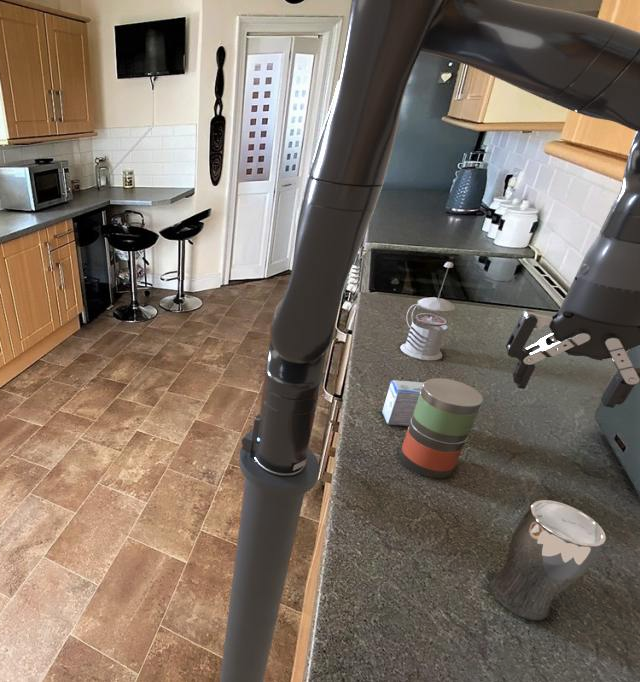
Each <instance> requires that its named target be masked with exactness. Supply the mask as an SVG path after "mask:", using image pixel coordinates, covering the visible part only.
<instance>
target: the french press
mask: <svg viewBox="0 0 640 682" xmlns="http://www.w3.org/2000/svg"><path fill="white" fill-rule="evenodd" d="M443 267H445V268H447V269H446V271H445V275H444V278H443V281H442V285H441V287H440V290H439V293H438V296H437V297H435V296H433V297H431V296H430V297H424V298H421V299H418V300H417V303H415V304H412V305H410V307H409V308H408V310H407V312H406V316H405V317H406V323H407V326H408V328H410V329H409V332H408V335H407V338H406V341H405V343H402V344H401V345H400V347H399V348H400V350H401V352H403V353H404V354H405V355H407V356H408V357H411V358H415V359H418V360H423V361H438V360H440V359H442V357H443V356H444V355H443V353H442V352H441V350H440V349H441V347H442V345H443V343H444V342H443V341H444V339H445V335H446V333H447V330H448V323H449V322H448V319H447V318H445V317H443V316H440V315H437V314H435V313H450V312H453V311H454V310H455V309H456V307H455V305H454V304H453V303H451V302H450V301H449V300H447V299H444V298H440V296H441V292H442V290H443V287H444V284H445V281H446V278H447V274H448V272H449V269H451V268H454V263H453V262H451V261H446V262H445V263H444V265H443ZM413 307H414V308H413ZM420 307H421V308H420ZM412 308H413V309H412ZM416 308H417V309H418V310H423V309H425V310H428V311H431V312H432V313H426V312H425V313H424V312H423V313H418V314H416V315H415V316H414V312H415V309H416ZM411 309H412V312H411V325H410V324H409V322H408V317H409V311H410V310H411ZM413 316H414V317H415V318H413ZM416 322H417V324H416ZM434 329H435V330H434Z"/></svg>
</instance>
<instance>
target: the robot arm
mask: <svg viewBox="0 0 640 682" xmlns="http://www.w3.org/2000/svg"><path fill="white" fill-rule="evenodd" d="M345 37H346V38H345V42H344V49H343V54H342V58H341V59H342V60H341V66H340V71H339V75H338V80H337V84H336V88H335V92H334V96H333V99H332V102H331V105H330V107H329V111H328V113H327V116H326V119H325V121H324V124H323V127H322V130H321V133H320V136H319V140H318V143H317V146H316V149H315V153H314V156H313V159H312V162H311V166H310V169H309V172H308V176H307V180H306V183H305V184H306V185H305V188H304V191H303V196H302V200H301V205H300V208H299V209H300V210H299V215H298V221H297V228H296V234H295V241H294V249H293V258H292V264H291V265H292V266H291V270H290V271H291V272H290V276H289V280H288V282H287V283H288V284H287V287H286V289H285V292H284V295H283V298H282V299H281V300H280V301H279V302H278V304H277V305H276V307H275V308H274V311H273V315H272V319H271V323H270V328H269V344H268V345H269V346H268V351H267V356H266V363H265V369H264V377H263V386H262V393H261V400H260V407H259V413H257V415H256V416H255V417H254V420H253V426H252V428H251V429H250V430H249V431H248V432H247V433H246V434H245V436H243V437H242V438H241V441H240V442H241V447H242V445H243V447H242V450H244V451H246V452H248V453H250V457H251V458H253V459H254V460H255V462H256V464H257V465H258V466H259V467H260V468H261V469H262V470H264V471H266V472H267V473H269V474H272V475H275V476H280V477H292V476H295V475H298V474H299V473H301V472H302V471H303V469H304V467H305V464H306V460H307V459H306V455H307V450H308V448H309V445H310V441H311V437H312V436H311V435H312V431H313V426H314V421H315V416H316V411H317V408H318V402H319V397H320V393H321V388H322V384H323V377H324V369H325V362H326V354H327V351H328V349H329V348H330V346H331V344H332V342H333V338H334V335H335V334H334V333H335V327H336V322H337V321H336V320H337V316H338V311H339V306H340V304H341V303H340V302H341V298H342V294H343V291H344V287H345V284H346V281H347V278H348V276H349V273H350V272H351V269H352V267H353V264H354V262H355V260H356V258H357V255H358V253H359V251H360V249H361V246H362V244H363V241H364V239H365V236H366V233H367V231H368V229H369V226H370V223H371V221H372V218H373V215H374V213H375V209H376V207H377V204H378V201H379V198H380V196H381V192H382V190H383V186H384V183H385V180H386V177H387V173H388V170H389V166H390V162H391V158H392V155H393V150H394V146H395V140H396V136H397V131H398V125H399V120H400V114H401V109H402V105H403V100H404V96H405V94H406V89H407V87H408V84H409V81H410V78H411V76H412V74H413V71H414V68H415V65H416V64H417V61H418V59H419V56H420V53H421V52H422V53H425V54H431V55H434V56H438V57H442V58H445V59H447V60H451V61H453V62H457V63H460V64H463V65H466V66H469V67H471V68H473V69H475V70H478V71H480V72H482V73H485V74H486V75H489V76H492V77H494V78H495V79H499V80H501V81H503V82H505V83H507V84H509V85H512V86H513V87H516V88H518V89H519V90H522V91H525V92H526V93H529V94H531V95H534V96H536V97H539V98H540V99H543V100H545V101H547V102H550V103H552V104H554V105H557V106H560V107H562V108H564V109H567V110H570V111H572V112H574V113H577V114H580V115H582V116H586V117H589V118H593V119H597V120H603V121H609V122H613V123H616V124H619V125H621V126H624V127H626V128H627V129H630V130H632V131H635V133H634V136H633V139H632V142H631V146H630V149H629V153H628V156H627V161H626V163H625V167H624V171H623V176H622V182H621V187H620V190H619V193H618V195H617V197H616V199H615V200H614V202H613V204H612V206H611V207H610V210H609V212H608V214H607V215H606V218H605V220H604V222H603V224H602V226H601V228H600V230H599V233H598V234H597V236H596V238H595V239H594V241H593V242H592V244H591V245H590V247H589V248H588V250H587V251H586V253H585V255H584V257H583V259H582V261H581V263H580V265H579V267H578V270H577V272H576V274H575V276H574V279H573V280H572V281H571V285H570V287H569V289H568V291H567V293H566V295H565V298H564V300H563V302H562V304H561V305H560V308H559V310H558V311H557V312H556V313H555V314H554V315H552V316H550V315H549V316H548V315H544V314H538V313H536V312H535V311H534V310H533V309H525V310H524V311H523V312H522V313H521V314H520V317H519V319H518V321H517V322H516V324H515V326H514V328H513V330H512V332H511V334H510V336H509V338H508V339H507V342H506V344H505V349H506V352H507V355H508V357H510V358H515V359H517V360H518V362H517V363H516V366H515V368H514V370H513V372H512V379H513V383H514V384H516V388H518V389H522V390H525V389H526V388H527V385H528V384H529V381H530V379H531V377H532V375H533V373H534V371H535V369H536V363H538V362H541V361H542V360H545V359H547V358H553V357H555V356H557V355H560V354H561V353H566V354H567V355H568V356H574V357H586V358H589V359H592V360H595V361H596V360H597V361H603V360H608V359H611V360H612V362H613V364H614V366H615V368H616V369H617V372H618V374H613V376H612V378H611V380H610V382H609V383H608V385H607V386H606V388H605V390H604V391H603V393H602V395H601V398H600V400H601V403H602V405H603V406H604V407H607V408H611V409H612V408H615V407H616V405H619V406H620V405H622V404H623V403H625V401H626V400H627V399H628V397H629V395H630V393H631V392H632V391H633V388H634V387H635V385H638V384H640V367H634V365H633V363H632V360H631V359H630V357H629V355H628V354H627V351H630V350H632V349H634V348H636V347H638V346H640V31H636V30H633V29H631V28H628V27H625V26H622V25H619V24H617V23H614V22H611V21H608V20H605V19H602V18H599V17H595V16H592V15H588V14H583V13H580V12H574V11H569V10H563V9H559V8H552V7H546V6H541V5H536V4H530V3H525V2H520V1H516V0H351V2H350V10H349V17H348V24H347V31H346V35H345ZM544 327H548V328H549V329H550V331H551V333H549V334H548V335H545V336H544V337H543V336H542V338H540V339H539V340H537V342H535V343H534V344H531V345H529V346H527V347H525V346H526V345H527V342H528V340H529V338H530V337H531V335H532V333H533V332H534V333H535V332H538V331H540V330H541V329H542V328H544Z"/></svg>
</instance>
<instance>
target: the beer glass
mask: <svg viewBox="0 0 640 682" xmlns="http://www.w3.org/2000/svg"><path fill="white" fill-rule="evenodd" d="M606 538H607V537H606V533H605V531H604V530H603V528H602V527H601V526H600V525H599V523H598V522H597V521H595V520H594V519H593V518H592V517H590V516H589V515H588V514H586V513H584V512H583V511H581V510H579V509H578V508H575V507H573V506H571V505H568V504H566V503H562V502H559V501H556V500H550V499H540V500H536V501H535V502H534V501H533V503H532V504H531V505H530V507H529V509H528V510H527V511H526V513H525V514H524V515H523V516H522V518H521V519H520V521H519V522H518V524H517V526H516V527H515V529H514V532H513V533H512V537H511V539H510V543H509V548H508V552H507V558H506V560H505V564H504V566H503V568H502V569H501V570H500V571H499V572H498V573H497V574H495V575H494V576H492V577H493V578H492V579H491V580H490V590H491V592H492V595H493V596H494V598H496V600H497V601H498V602H499V604H501V605H502V606H503V607H504V608H505V609H506V610H508V611H510V612H511V613H513V614H514V615H516V616H519V617H521V618H523V619H525V620H529V621H542V620H545V619H546V618H547V617H548V616H549V613H550V610H551V606H552V602H553V601H554V599H555V598H556V596H558V595H559V594H560V593H561V592H563V591H564V590H566V589H568V588H569V587H570V586H571V585H573V584H574V583H575V582H577V581H578V580H579V579H581V577H583V576H584V575H585V574H586V572H587V571H588V570H589V569H590V568H591V566H592V565H593V563H594V562H595V560H596V559H597V556H598V555H599V553H600V551H601V548H602V546H603V545H604V544H605V543H606V540H607V539H606Z"/></svg>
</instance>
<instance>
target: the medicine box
mask: <svg viewBox="0 0 640 682" xmlns="http://www.w3.org/2000/svg"><path fill="white" fill-rule="evenodd" d="M423 384H424V382H420V381H407V380H396V379H395V380H394V379H392V380H391V382H390V384H389V387H388V390H387V395H386V398H385V401H384V405H383V408H382V415H383V417H384V419H385V422H386V424H387V425H393V426H403V427H409V425H410V420H411V418H412V416H413V413H414V409H415V406H416V404H417V401H418V398H419V395H420V392H421V390H422V387H423Z"/></svg>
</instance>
